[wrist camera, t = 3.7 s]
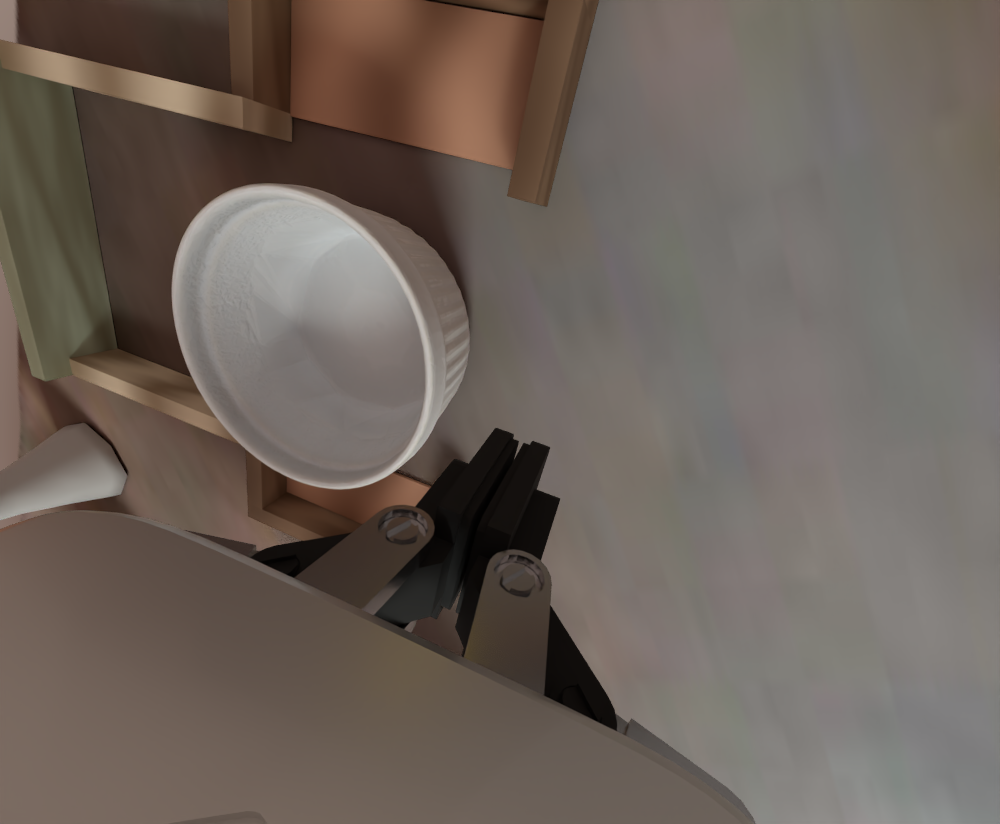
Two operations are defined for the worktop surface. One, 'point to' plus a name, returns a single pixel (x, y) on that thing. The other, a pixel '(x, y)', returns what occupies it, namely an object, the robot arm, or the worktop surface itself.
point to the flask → (61, 473)
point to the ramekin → (318, 331)
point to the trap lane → (268, 111)
